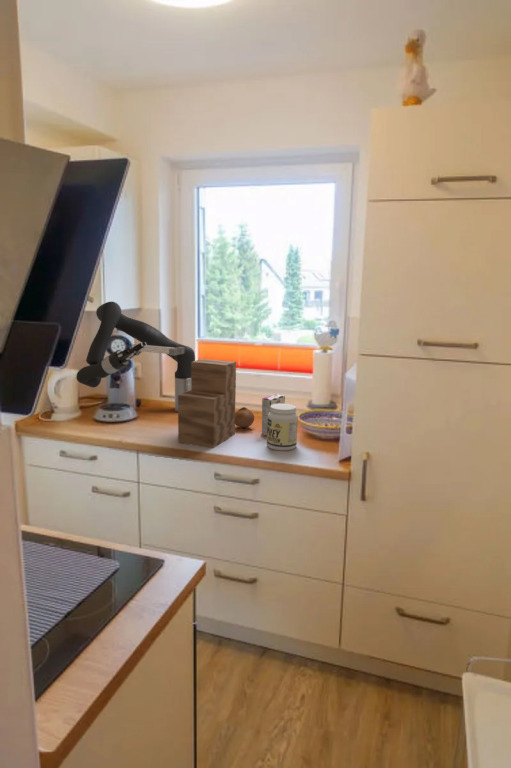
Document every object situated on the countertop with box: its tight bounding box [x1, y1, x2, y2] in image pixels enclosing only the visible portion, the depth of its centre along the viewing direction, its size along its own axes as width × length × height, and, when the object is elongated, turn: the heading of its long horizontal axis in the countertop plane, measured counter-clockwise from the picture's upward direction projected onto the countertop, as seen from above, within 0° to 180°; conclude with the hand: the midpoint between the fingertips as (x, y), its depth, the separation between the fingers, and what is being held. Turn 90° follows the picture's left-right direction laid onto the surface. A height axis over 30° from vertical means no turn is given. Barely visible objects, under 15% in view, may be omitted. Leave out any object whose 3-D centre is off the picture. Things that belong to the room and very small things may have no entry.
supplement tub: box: [266, 403, 299, 452], centre depth 205 cm, size 12×12×17 cm
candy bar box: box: [261, 393, 286, 436], centre depth 224 cm, size 11×5×16 cm, turn 143°
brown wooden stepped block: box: [177, 358, 237, 449], centre depth 211 cm, size 21×16×32 cm
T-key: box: [131, 343, 184, 356], centre depth 209 cm, size 8×22×2 cm, turn 68°
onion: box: [235, 406, 255, 429], centre depth 229 cm, size 10×9×10 cm
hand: (144, 344), depth 211 cm, fingers closed on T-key, 2 cm apart
